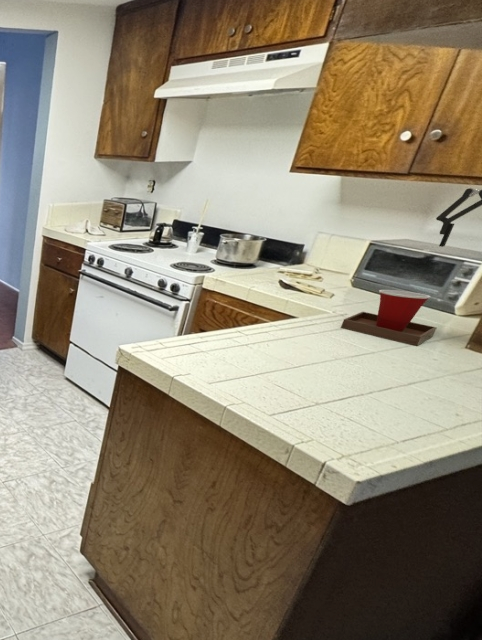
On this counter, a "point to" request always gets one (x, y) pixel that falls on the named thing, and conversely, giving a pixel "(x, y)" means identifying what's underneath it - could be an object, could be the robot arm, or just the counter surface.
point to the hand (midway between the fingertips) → (476, 249)
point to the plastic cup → (398, 308)
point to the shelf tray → (367, 325)
